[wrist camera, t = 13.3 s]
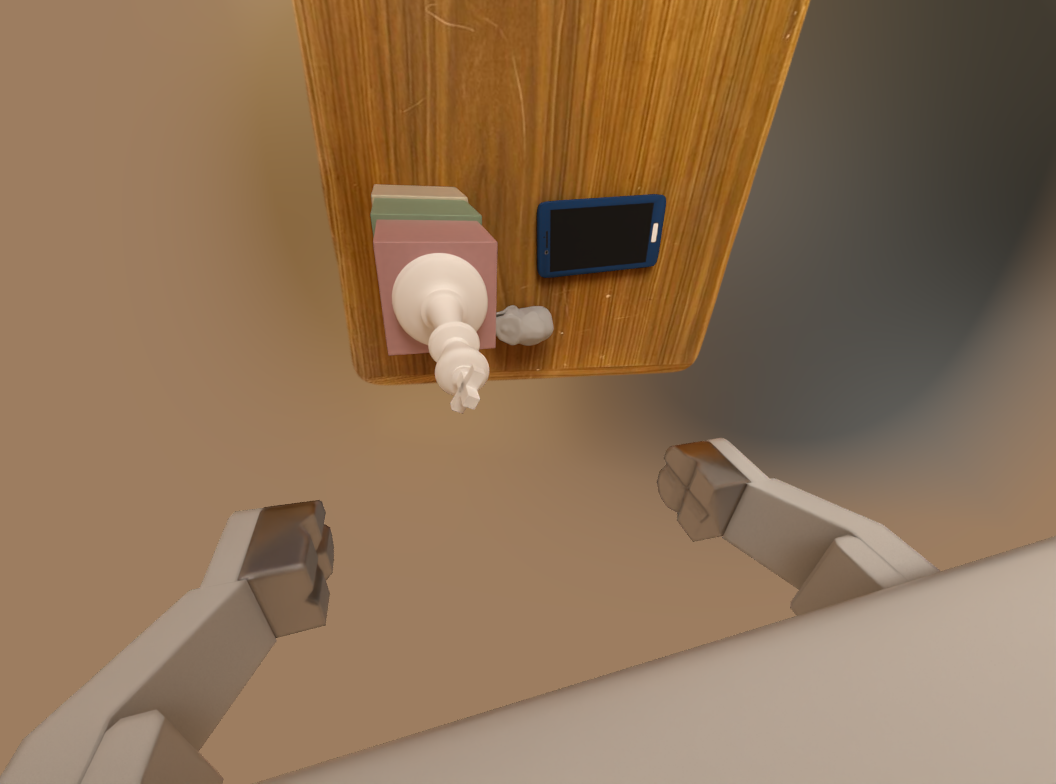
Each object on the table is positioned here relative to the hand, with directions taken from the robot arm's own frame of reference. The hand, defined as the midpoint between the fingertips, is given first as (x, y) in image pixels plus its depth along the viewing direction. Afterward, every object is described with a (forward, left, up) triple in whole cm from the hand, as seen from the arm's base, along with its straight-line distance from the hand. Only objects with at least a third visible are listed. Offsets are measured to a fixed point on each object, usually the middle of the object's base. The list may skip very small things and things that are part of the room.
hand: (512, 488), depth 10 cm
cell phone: (+8, +16, -35) cm, 39 cm away
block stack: (0, 0, -35) cm, 35 cm away
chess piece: (0, 0, -15) cm, 15 cm away
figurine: (+12, +4, -35) cm, 37 cm away
